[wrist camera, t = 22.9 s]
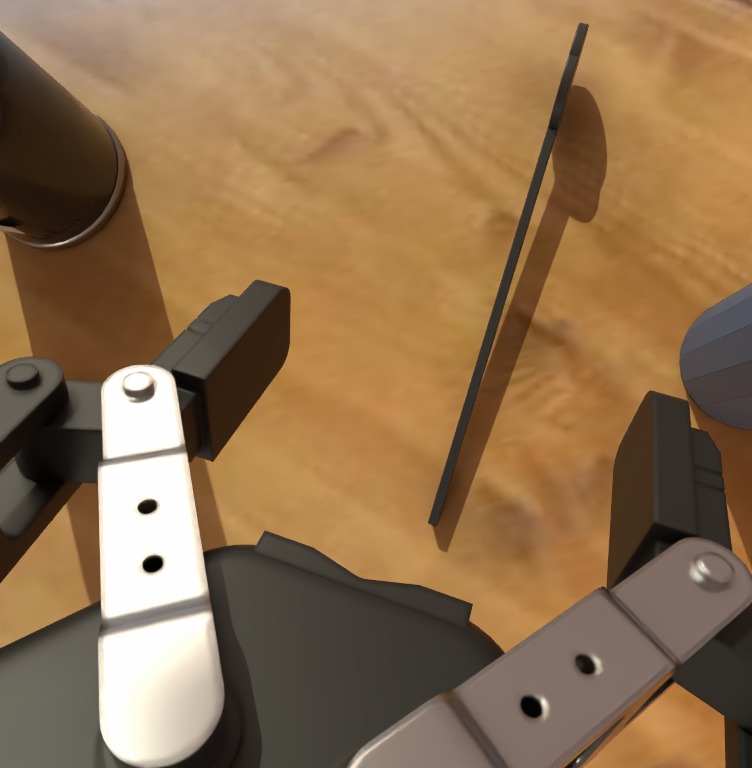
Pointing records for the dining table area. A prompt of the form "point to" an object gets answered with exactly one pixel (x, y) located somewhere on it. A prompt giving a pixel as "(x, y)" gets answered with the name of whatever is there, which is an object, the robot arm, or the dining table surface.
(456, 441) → the spoon
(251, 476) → the dining table surface
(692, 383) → the bottle
